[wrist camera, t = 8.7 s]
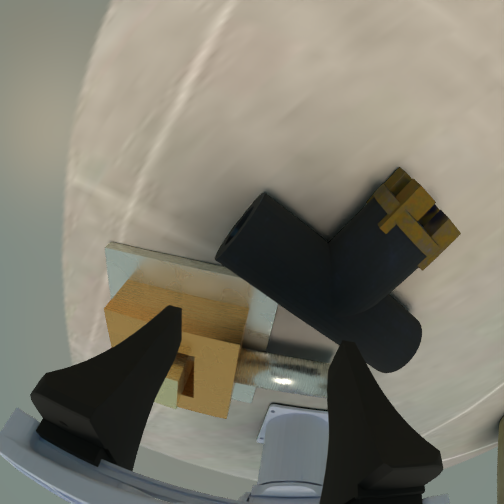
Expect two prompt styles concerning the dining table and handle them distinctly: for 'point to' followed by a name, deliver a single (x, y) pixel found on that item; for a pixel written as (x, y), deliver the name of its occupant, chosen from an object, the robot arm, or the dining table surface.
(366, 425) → the robot arm
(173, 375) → the pale wooden brick
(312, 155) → the dining table surface
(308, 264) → the pipe connector
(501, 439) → the plant pot
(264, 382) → the wooden slotted box
